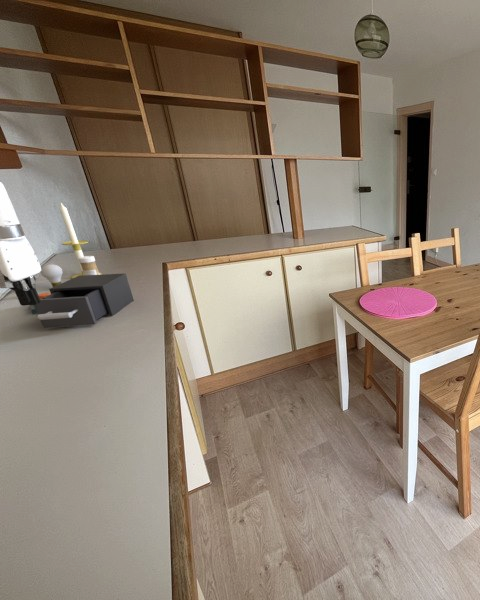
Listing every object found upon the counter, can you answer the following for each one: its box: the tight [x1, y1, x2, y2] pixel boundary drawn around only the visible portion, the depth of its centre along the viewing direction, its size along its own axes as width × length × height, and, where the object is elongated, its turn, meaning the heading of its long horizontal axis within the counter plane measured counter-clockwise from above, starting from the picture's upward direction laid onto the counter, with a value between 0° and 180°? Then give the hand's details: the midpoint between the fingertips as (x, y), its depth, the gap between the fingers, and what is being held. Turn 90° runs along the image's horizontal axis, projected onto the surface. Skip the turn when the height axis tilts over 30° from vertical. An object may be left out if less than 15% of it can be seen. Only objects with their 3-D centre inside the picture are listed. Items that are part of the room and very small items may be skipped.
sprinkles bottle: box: [77, 255, 100, 275], centre depth 124 cm, size 5×5×13 cm
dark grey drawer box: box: [48, 273, 135, 318], centre depth 106 cm, size 15×14×11 cm
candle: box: [59, 202, 102, 279], centre depth 137 cm, size 10×10×32 cm
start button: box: [38, 292, 51, 299], centre depth 107 cm, size 4×4×2 cm
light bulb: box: [39, 263, 64, 287], centre depth 125 cm, size 6×6×10 cm
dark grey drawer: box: [34, 288, 108, 329], centre depth 96 cm, size 18×12×9 cm
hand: (31, 304), depth 81 cm, fingers closed
